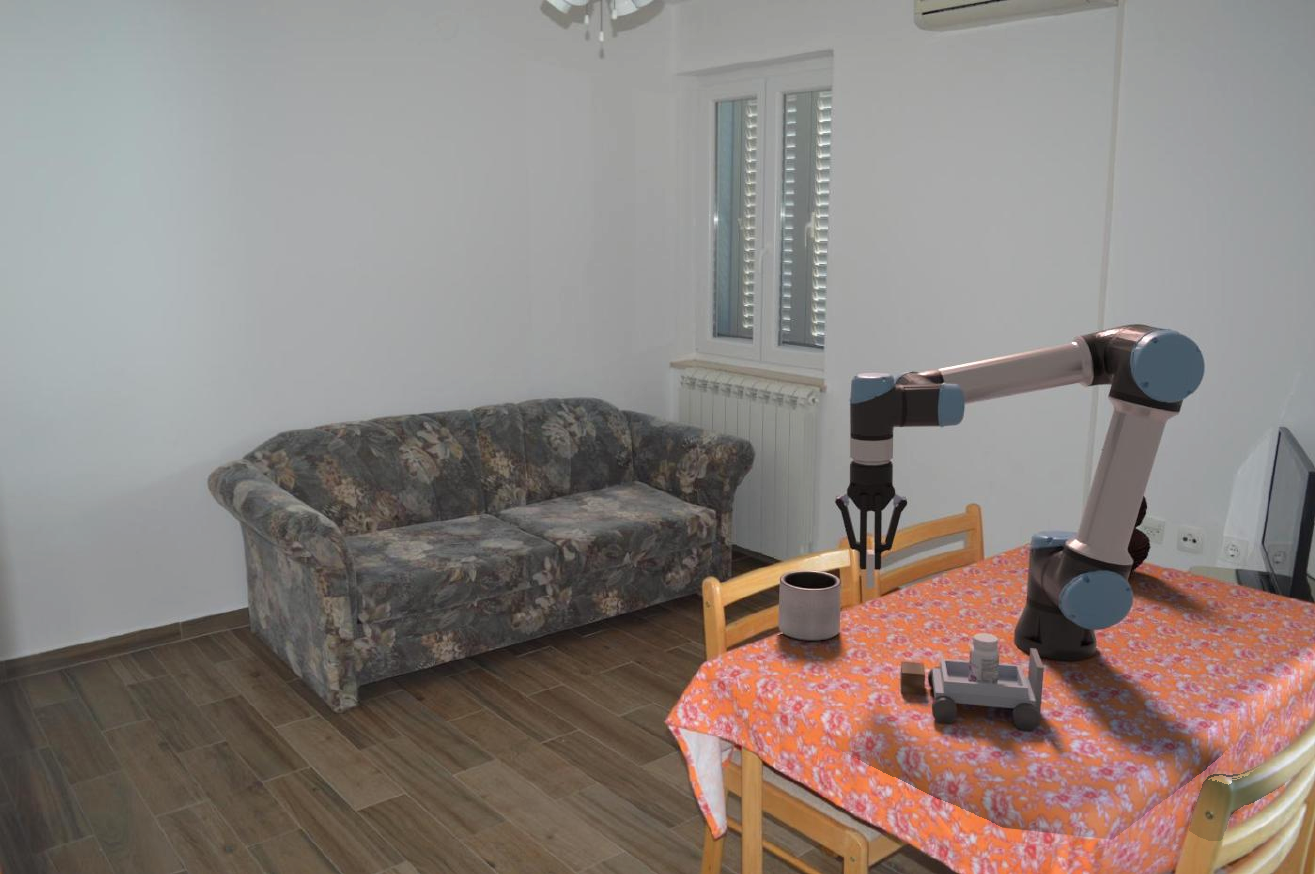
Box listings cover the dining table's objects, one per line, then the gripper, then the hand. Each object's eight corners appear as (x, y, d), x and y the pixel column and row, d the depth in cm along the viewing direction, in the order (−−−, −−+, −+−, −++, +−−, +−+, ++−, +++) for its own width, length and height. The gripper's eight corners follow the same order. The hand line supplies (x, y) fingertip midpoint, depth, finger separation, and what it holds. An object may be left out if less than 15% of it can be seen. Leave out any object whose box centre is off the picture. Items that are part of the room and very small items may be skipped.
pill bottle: (963, 678, 176) (966, 632, 174) (990, 677, 176) (993, 631, 175) (974, 690, 171) (977, 643, 170) (1001, 689, 172) (1005, 642, 170)
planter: (825, 648, 200) (827, 594, 198) (767, 635, 207) (768, 582, 205) (849, 627, 211) (851, 576, 209) (793, 615, 217) (794, 565, 215)
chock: (922, 683, 185) (923, 662, 184) (924, 695, 180) (925, 674, 179) (900, 681, 186) (901, 661, 185) (900, 693, 181) (901, 672, 180)
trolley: (1029, 695, 180) (1033, 641, 178) (1042, 732, 166) (1046, 675, 164) (927, 686, 183) (930, 634, 181) (931, 722, 170) (934, 666, 168)
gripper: (907, 456, 184) (905, 580, 189) (834, 455, 186) (834, 577, 191) (910, 465, 177) (907, 594, 181) (833, 464, 179) (833, 591, 184)
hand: (870, 585), depth 186 cm, fingers closed
